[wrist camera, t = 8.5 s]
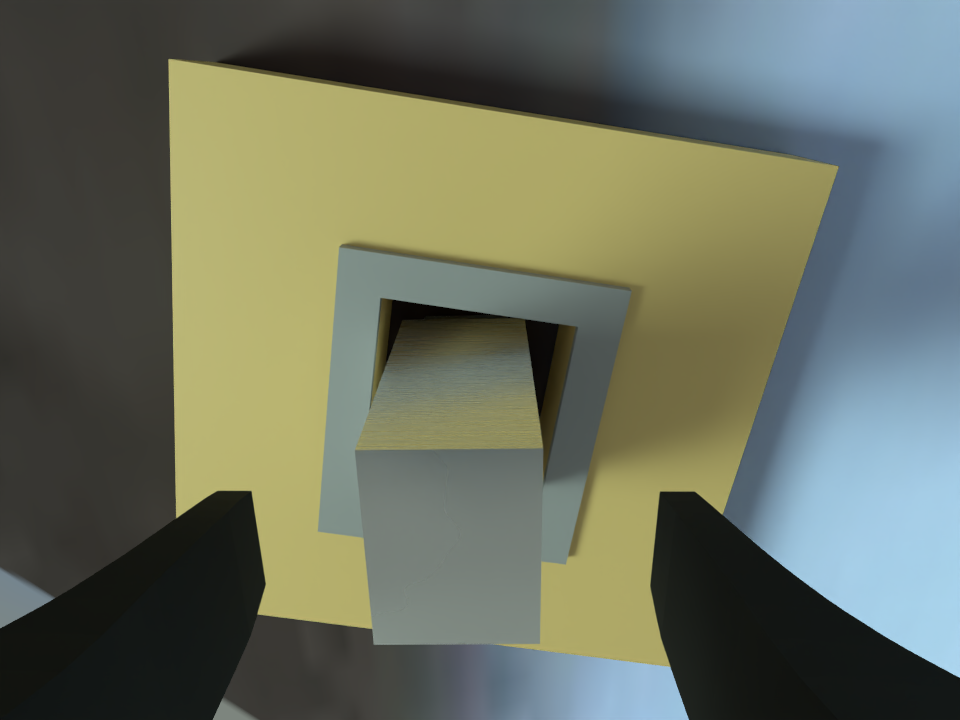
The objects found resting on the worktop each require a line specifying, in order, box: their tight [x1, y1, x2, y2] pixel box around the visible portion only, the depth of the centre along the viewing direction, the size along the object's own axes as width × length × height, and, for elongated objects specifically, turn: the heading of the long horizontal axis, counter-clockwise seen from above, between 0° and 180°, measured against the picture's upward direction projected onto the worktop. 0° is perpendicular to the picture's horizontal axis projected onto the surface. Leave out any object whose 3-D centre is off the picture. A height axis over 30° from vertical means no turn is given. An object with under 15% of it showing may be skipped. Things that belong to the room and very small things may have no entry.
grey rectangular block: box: [355, 315, 543, 645], centre depth 15 cm, size 3×4×8 cm
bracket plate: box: [169, 59, 839, 667], centre depth 18 cm, size 14×14×3 cm
